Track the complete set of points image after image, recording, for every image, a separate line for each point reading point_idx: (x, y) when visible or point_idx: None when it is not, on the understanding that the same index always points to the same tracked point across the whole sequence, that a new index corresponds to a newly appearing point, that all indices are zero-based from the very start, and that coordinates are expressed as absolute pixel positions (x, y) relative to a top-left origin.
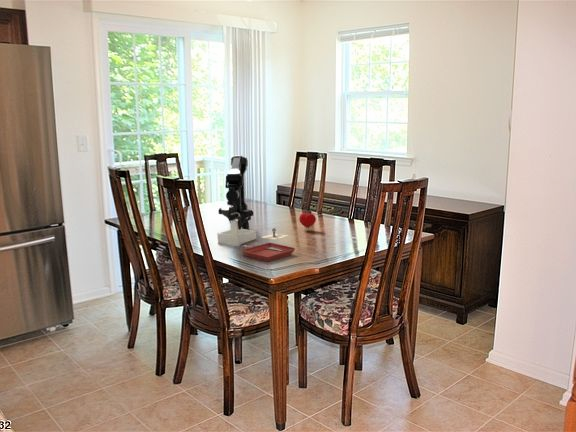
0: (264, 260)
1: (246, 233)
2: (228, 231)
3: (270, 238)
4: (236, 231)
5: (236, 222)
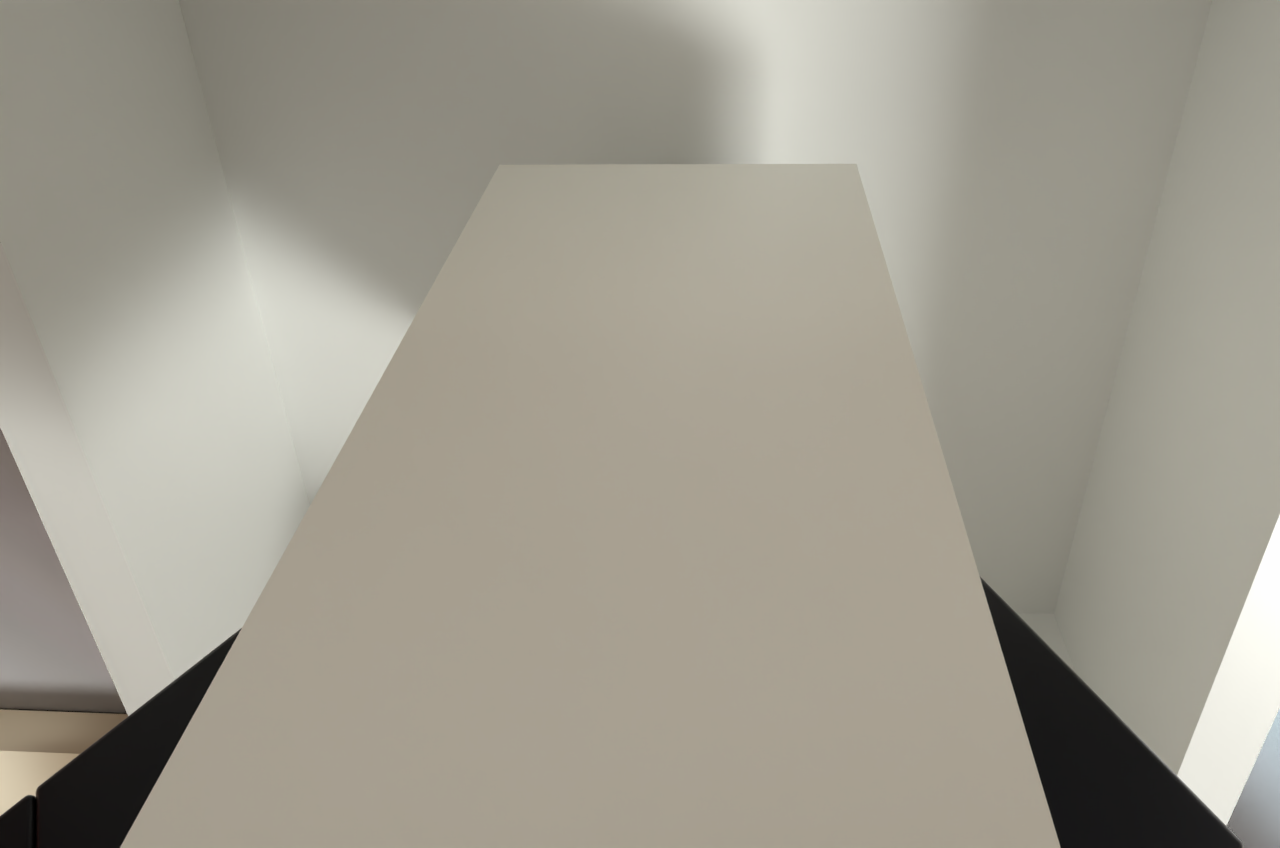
0: None
1: (57, 464)
2: (1254, 480)
3: (25, 771)
4: (438, 323)
5: (162, 806)
